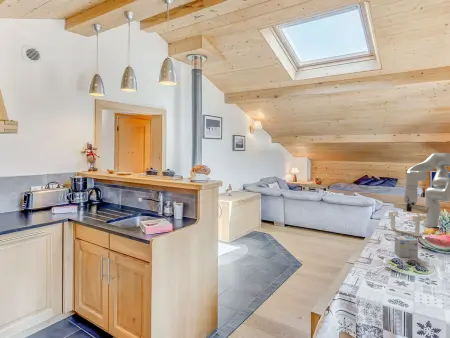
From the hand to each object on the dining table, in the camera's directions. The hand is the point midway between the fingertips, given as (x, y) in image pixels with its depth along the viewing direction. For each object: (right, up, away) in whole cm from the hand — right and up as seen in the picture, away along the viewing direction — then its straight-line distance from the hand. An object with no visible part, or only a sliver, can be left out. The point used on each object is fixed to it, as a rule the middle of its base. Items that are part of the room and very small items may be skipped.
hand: (410, 210), depth 225 cm
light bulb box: (-35, -20, -50) cm, 64 cm away
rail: (0, +1, 0) cm, 1 cm away
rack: (-6, -16, -3) cm, 17 cm away
